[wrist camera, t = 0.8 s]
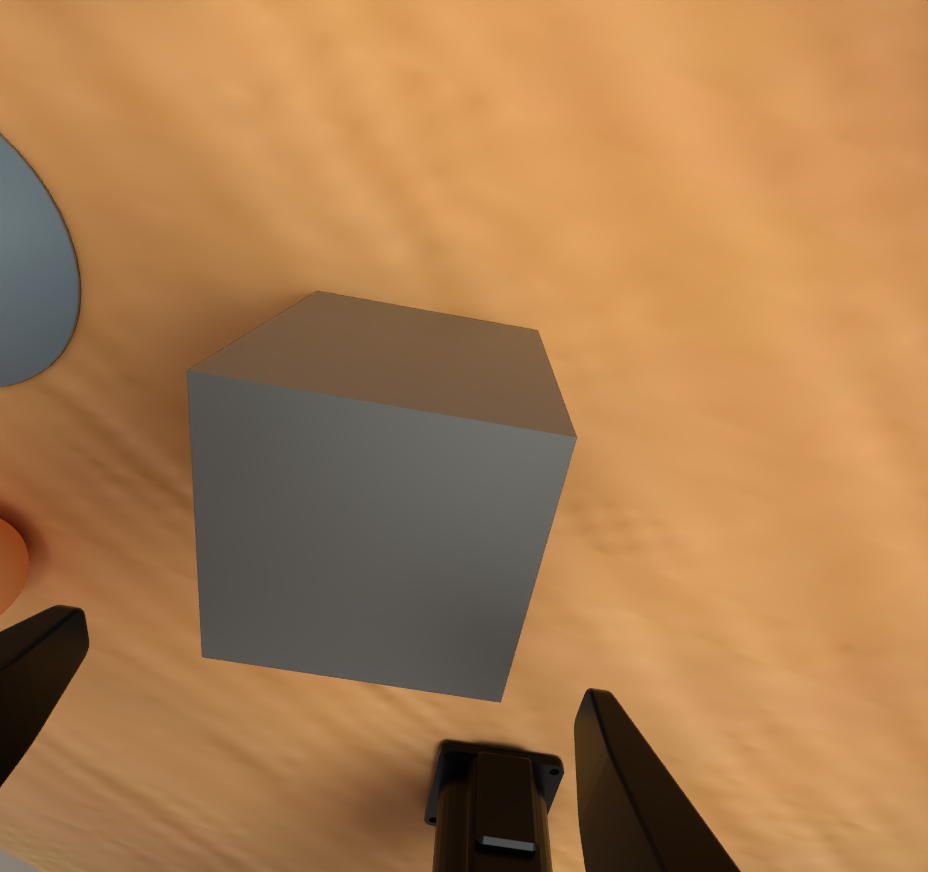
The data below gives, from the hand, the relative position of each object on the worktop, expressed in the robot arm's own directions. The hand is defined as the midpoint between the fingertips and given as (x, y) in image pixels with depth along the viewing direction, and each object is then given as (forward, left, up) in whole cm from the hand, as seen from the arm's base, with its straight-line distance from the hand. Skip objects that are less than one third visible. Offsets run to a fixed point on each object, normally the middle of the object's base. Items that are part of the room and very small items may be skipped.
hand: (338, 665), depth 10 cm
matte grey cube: (0, 0, -12) cm, 12 cm away
